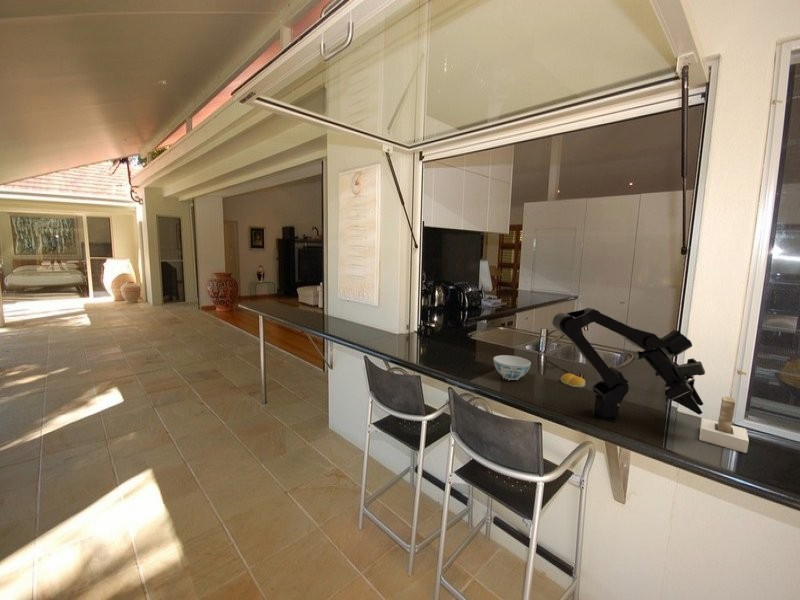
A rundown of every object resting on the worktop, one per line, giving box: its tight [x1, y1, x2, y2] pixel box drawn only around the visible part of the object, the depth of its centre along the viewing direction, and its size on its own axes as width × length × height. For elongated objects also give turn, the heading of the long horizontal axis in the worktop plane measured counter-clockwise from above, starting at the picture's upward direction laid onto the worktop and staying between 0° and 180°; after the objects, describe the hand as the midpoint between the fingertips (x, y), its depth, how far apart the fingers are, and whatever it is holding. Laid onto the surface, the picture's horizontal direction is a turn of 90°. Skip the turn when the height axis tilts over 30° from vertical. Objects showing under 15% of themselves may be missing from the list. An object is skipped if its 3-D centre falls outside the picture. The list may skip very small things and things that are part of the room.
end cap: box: [699, 417, 750, 454], centre depth 104 cm, size 10×10×4 cm
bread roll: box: [560, 372, 586, 388], centre depth 147 cm, size 8×9×4 cm
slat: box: [717, 395, 736, 434], centre depth 103 cm, size 2×4×12 cm, turn 140°
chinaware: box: [493, 354, 532, 381], centre depth 150 cm, size 15×15×8 cm
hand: (701, 409), depth 107 cm, fingers open, 9 cm apart
